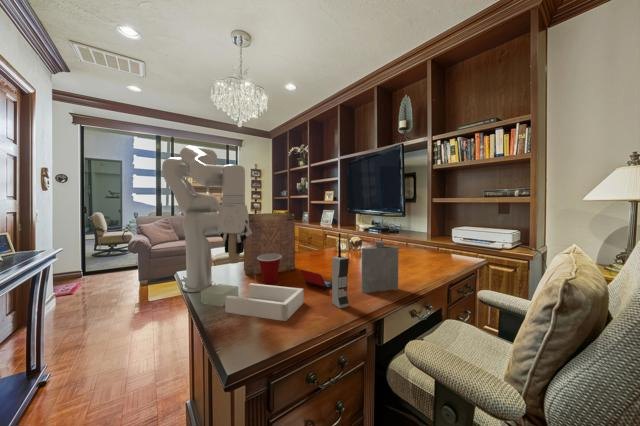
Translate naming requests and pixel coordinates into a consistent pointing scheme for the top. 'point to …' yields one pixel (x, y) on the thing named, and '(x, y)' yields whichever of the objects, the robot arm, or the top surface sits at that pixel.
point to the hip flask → (379, 268)
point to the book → (270, 240)
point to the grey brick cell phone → (339, 279)
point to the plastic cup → (269, 267)
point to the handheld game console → (316, 280)
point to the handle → (233, 249)
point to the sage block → (218, 294)
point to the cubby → (267, 302)
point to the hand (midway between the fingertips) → (234, 252)
